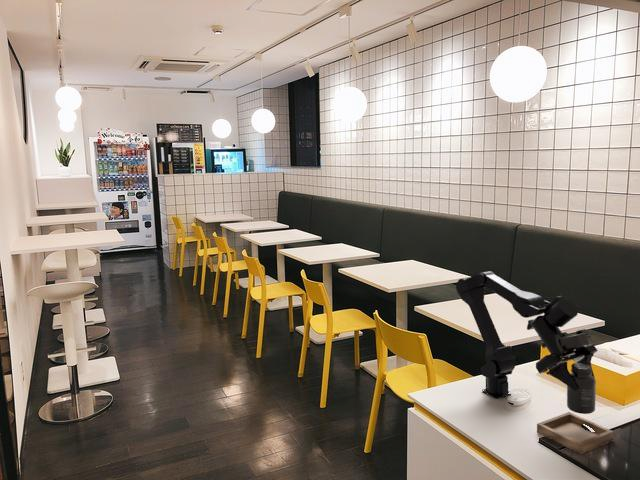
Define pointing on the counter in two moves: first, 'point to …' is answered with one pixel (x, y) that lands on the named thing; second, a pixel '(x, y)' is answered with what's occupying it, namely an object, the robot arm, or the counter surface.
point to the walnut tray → (574, 432)
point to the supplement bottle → (582, 389)
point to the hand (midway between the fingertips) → (585, 387)
